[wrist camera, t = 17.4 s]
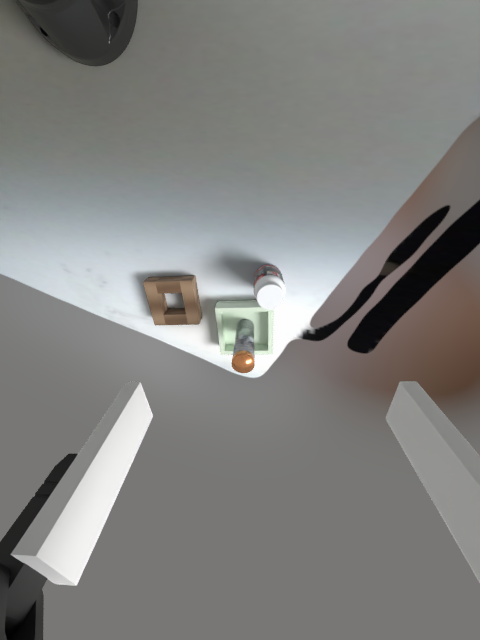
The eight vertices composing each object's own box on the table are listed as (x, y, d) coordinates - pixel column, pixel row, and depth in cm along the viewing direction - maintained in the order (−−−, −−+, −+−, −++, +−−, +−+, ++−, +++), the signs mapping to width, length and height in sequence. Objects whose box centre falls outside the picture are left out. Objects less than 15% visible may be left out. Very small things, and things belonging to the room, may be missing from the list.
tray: (217, 301, 50) (214, 308, 47) (272, 299, 49) (273, 306, 46) (222, 345, 56) (220, 354, 53) (271, 345, 55) (272, 354, 52)
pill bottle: (256, 261, 45) (257, 278, 37) (284, 266, 45) (292, 284, 37) (251, 288, 48) (250, 309, 39) (277, 292, 48) (282, 314, 40)
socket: (148, 277, 48) (142, 282, 46) (195, 275, 47) (191, 280, 45) (159, 318, 53) (154, 325, 50) (201, 317, 52) (199, 324, 50)
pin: (236, 319, 51) (230, 355, 39) (254, 318, 50) (254, 355, 39) (237, 334, 53) (232, 373, 41) (254, 333, 52) (254, 373, 41)
